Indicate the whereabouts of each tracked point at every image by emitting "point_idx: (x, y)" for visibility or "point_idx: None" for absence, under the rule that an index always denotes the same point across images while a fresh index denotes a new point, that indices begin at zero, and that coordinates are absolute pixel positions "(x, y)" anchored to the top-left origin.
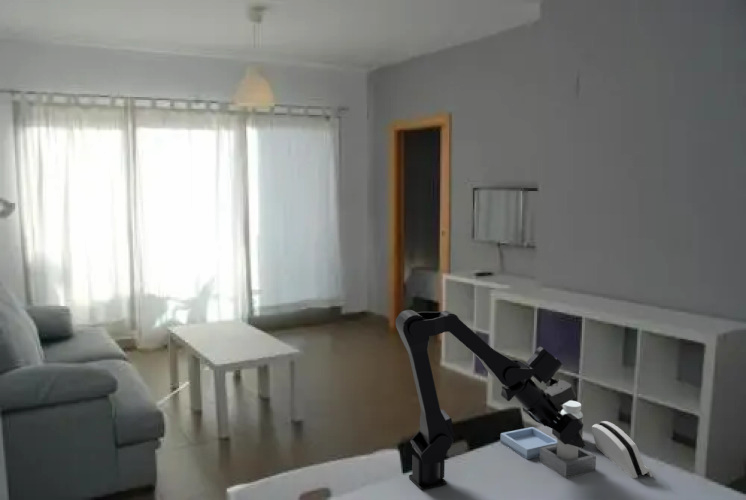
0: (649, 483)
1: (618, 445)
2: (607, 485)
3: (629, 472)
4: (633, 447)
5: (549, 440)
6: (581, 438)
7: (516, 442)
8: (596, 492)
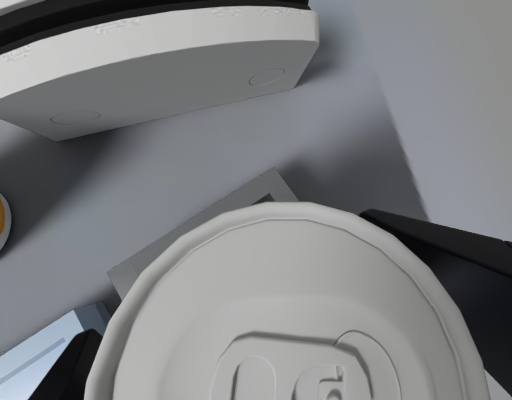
0: (316, 55)
1: (294, 34)
2: (363, 171)
3: (290, 84)
4: None
5: (22, 367)
6: (469, 236)
7: None
8: (421, 216)
